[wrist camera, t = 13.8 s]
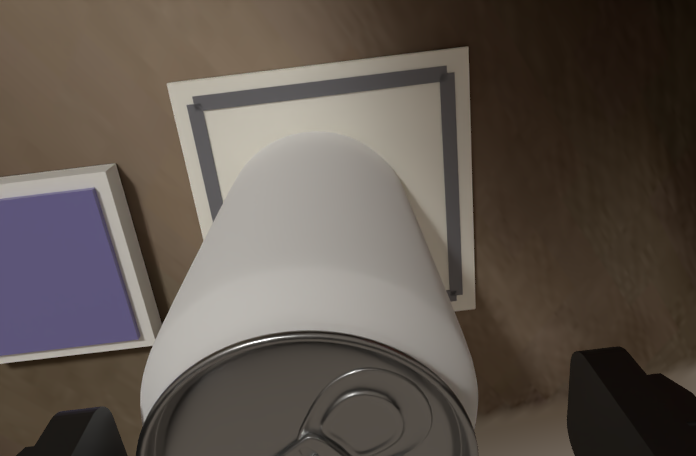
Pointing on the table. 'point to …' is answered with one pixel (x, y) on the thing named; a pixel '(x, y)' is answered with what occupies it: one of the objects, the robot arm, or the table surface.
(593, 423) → the robot arm
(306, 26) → the table surface
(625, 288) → the table surface
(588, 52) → the table surface
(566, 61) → the table surface
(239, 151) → the card
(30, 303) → the ink pad
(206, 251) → the can
